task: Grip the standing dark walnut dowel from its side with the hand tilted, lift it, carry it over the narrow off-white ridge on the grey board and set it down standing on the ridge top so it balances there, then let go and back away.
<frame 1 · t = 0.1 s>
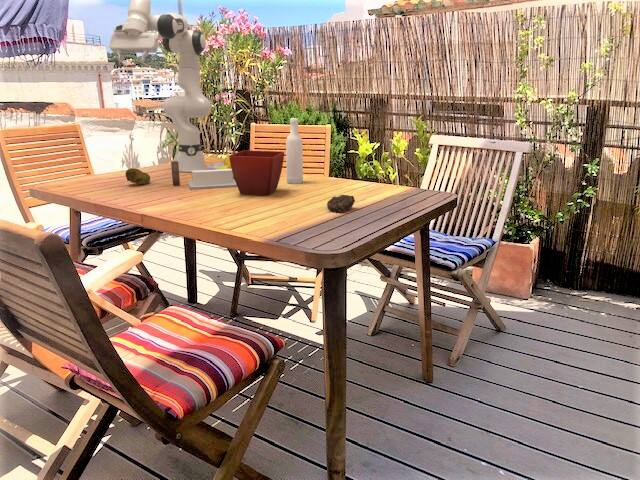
hand: (131, 60, 220), 54 cm above the table, tool tilted 30°, fingers open, 8 cm apart
potato: (139, 185, 246), on the table
post: (176, 185, 244), on the table
ridge: (213, 185, 244), on the table
fruit bowl: (236, 177, 269), on the table
plant pot: (258, 192, 229), on the table
dark brown rock: (339, 210, 198), on the table
bottle: (294, 183, 252), on the table
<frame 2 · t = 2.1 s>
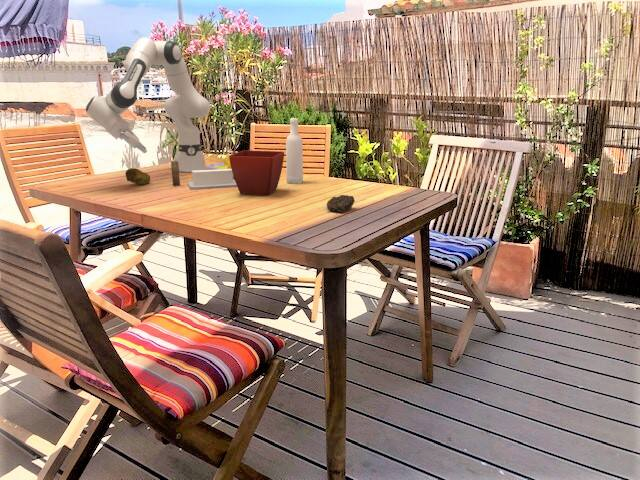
hand: (145, 150, 236), 16 cm above the table, tool tilted 45°, fingers open, 8 cm apart
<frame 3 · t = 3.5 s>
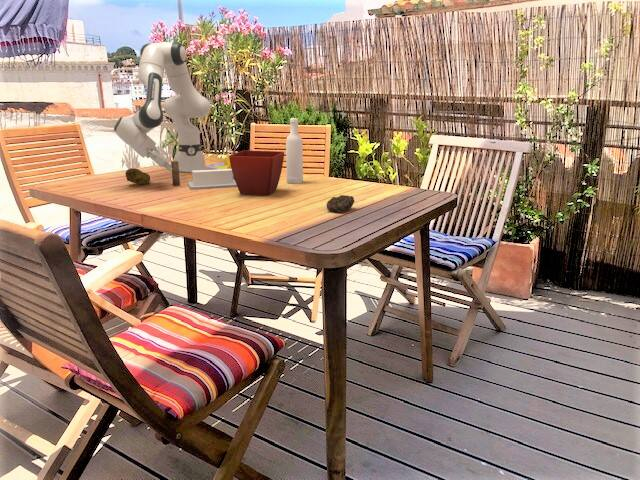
hand: (170, 168, 241), 8 cm above the table, tool tilted 45°, fingers open, 8 cm apart
nothing on the table moved.
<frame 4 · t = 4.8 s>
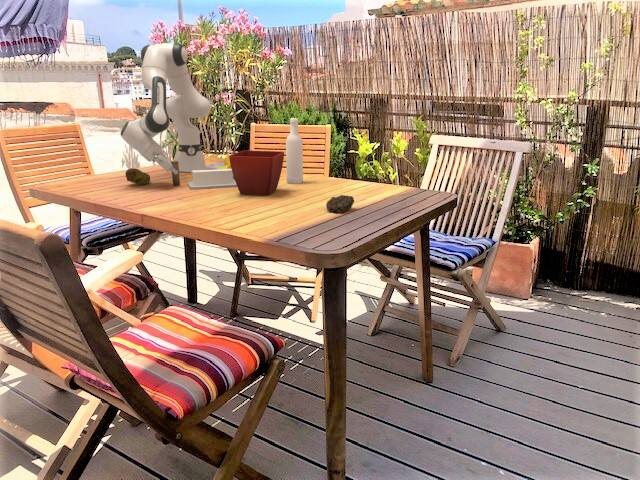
hand: (176, 172, 243), 6 cm above the table, tool tilted 45°, fingers closed on post, 3 cm apart
post: (176, 185, 244), on the table, touching gripper
everything else where it was.
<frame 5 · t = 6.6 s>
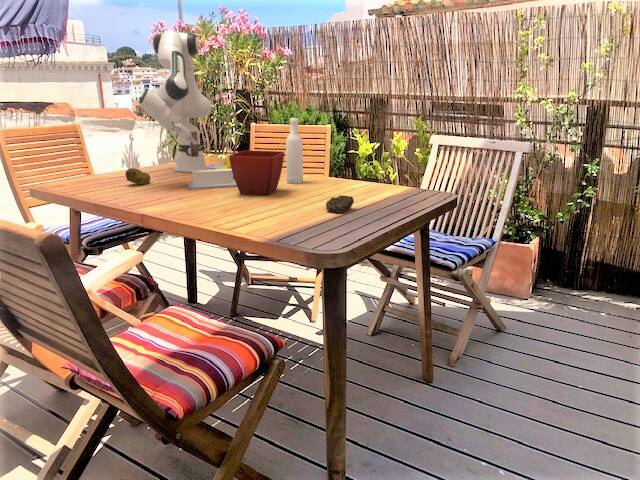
hand: (195, 143, 239), 19 cm above the table, tool tilted 45°, fingers closed on post, 3 cm apart
post: (194, 156, 240), point 13 cm above the table, touching gripper
when the fingers open (14 cm above the table, at t = 8.6 s): post stays where it is, resting on ridge.
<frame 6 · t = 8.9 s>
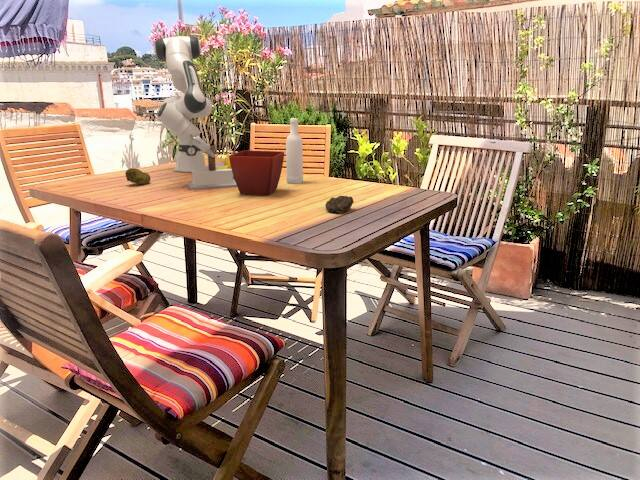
hand: (212, 155, 240), 14 cm above the table, tool tilted 45°, fingers open, 5 cm apart
post: (212, 170, 242), point 7 cm above the table, touching ridge
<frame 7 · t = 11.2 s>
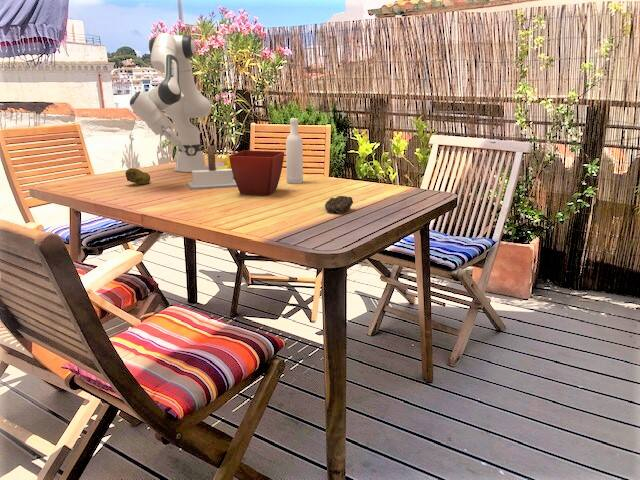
hand: (183, 149, 237), 17 cm above the table, tool tilted 40°, fingers open, 8 cm apart
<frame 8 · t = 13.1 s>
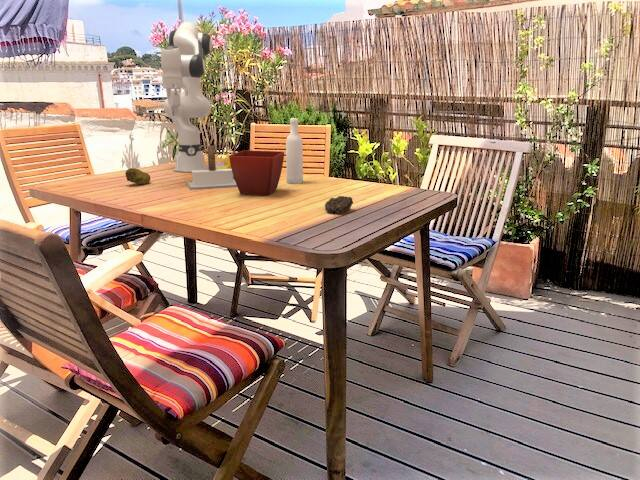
hand: (175, 116, 238), 31 cm above the table, tool pointing down, fingers open, 8 cm apart
at the end: post inside the target area on the ridge (0.1 cm from its centre), point 7.0 cm above the ridge's base; post tilted 0°; the gripper is holding nothing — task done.
